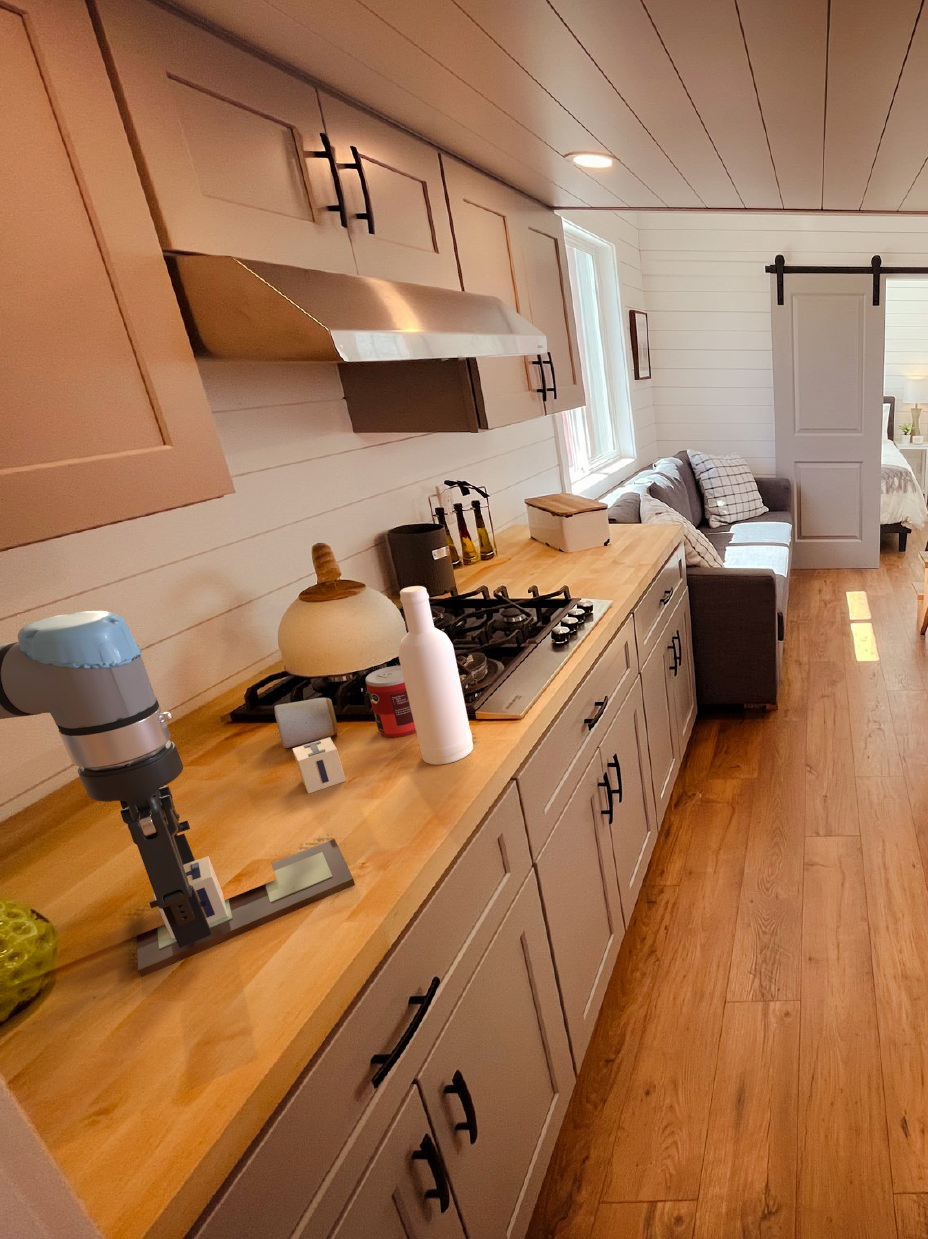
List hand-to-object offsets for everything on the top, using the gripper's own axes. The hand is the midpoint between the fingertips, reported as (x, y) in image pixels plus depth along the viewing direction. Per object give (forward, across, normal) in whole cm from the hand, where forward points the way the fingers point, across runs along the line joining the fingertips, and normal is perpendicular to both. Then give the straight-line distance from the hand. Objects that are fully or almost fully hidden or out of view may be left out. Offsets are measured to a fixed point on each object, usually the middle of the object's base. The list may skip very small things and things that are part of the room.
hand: (191, 909), depth 80 cm
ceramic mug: (+2, +43, -18) cm, 47 cm away
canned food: (+2, +35, -31) cm, 47 cm away
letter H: (+1, 0, 0) cm, 1 cm away
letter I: (+2, +25, -17) cm, 30 cm away
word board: (+2, 0, -5) cm, 6 cm away
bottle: (+2, +20, -34) cm, 40 cm away
